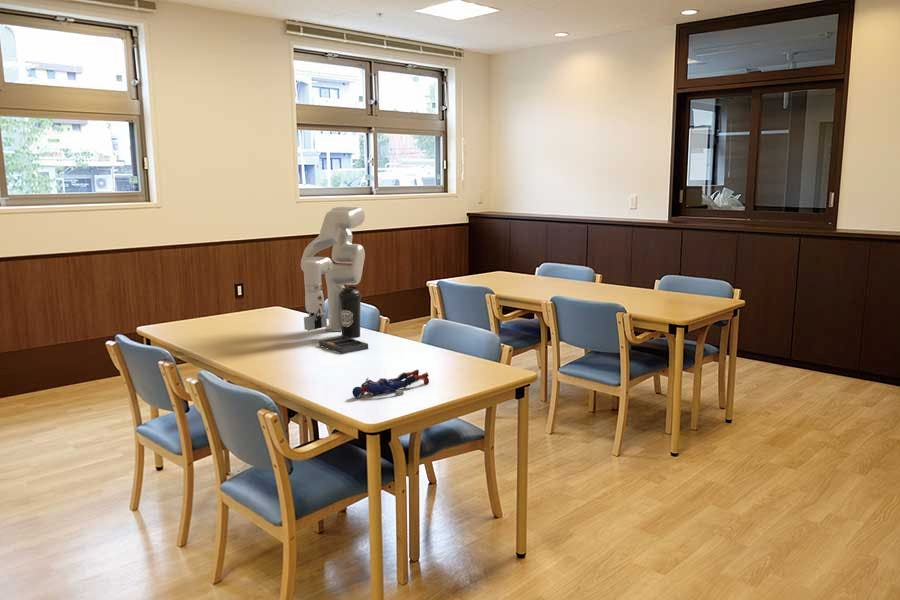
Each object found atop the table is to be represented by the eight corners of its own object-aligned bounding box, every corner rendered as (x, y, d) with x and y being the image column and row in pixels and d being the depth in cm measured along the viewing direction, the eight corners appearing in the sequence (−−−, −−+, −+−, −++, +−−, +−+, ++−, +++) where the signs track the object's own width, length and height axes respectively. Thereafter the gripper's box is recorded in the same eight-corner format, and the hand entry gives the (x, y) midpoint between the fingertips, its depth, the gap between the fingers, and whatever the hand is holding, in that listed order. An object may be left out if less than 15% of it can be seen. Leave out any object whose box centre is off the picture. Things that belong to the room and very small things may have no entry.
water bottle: (335, 337, 319) (334, 288, 315) (347, 332, 328) (345, 285, 324) (355, 339, 315) (353, 289, 311) (366, 334, 324) (364, 286, 320)
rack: (344, 341, 311) (343, 334, 311) (368, 348, 297) (368, 342, 297) (318, 345, 303) (318, 339, 302) (342, 353, 289) (342, 347, 288)
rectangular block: (323, 325, 316) (322, 313, 315) (327, 326, 313) (326, 314, 312) (304, 329, 310) (303, 317, 309) (308, 330, 307) (307, 318, 306)
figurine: (410, 378, 255) (341, 395, 235) (410, 363, 254) (340, 378, 234) (435, 387, 244) (365, 405, 225) (435, 371, 243) (365, 388, 224)
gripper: (330, 289, 304) (332, 329, 308) (311, 283, 316) (313, 322, 320) (315, 292, 299) (318, 332, 303) (296, 286, 311) (299, 325, 315)
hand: (315, 327), depth 312 cm, fingers closed on rectangular block, 3 cm apart
